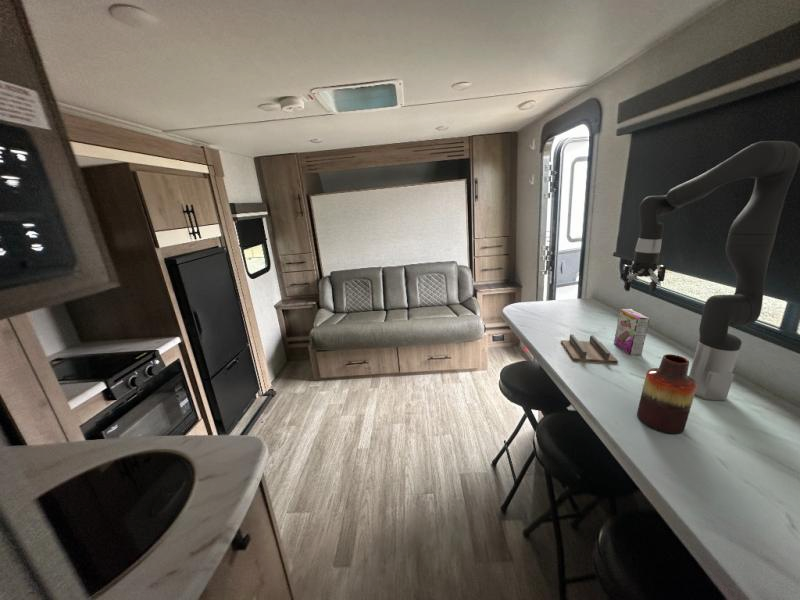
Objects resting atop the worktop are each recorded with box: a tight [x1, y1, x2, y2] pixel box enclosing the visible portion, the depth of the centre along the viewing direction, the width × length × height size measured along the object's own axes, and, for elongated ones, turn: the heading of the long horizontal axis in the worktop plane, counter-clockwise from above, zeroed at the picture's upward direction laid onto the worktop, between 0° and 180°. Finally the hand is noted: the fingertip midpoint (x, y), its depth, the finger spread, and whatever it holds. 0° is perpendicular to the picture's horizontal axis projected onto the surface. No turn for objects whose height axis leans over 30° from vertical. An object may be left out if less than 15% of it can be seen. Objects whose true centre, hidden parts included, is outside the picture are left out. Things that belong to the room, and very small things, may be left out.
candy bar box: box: [613, 308, 650, 356], centre depth 132 cm, size 11×5×16 cm, turn 179°
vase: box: [636, 353, 697, 435], centre depth 89 cm, size 11×11×20 cm
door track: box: [560, 333, 619, 365], centre depth 132 cm, size 16×17×4 cm
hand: (639, 291), depth 127 cm, fingers open, 8 cm apart
